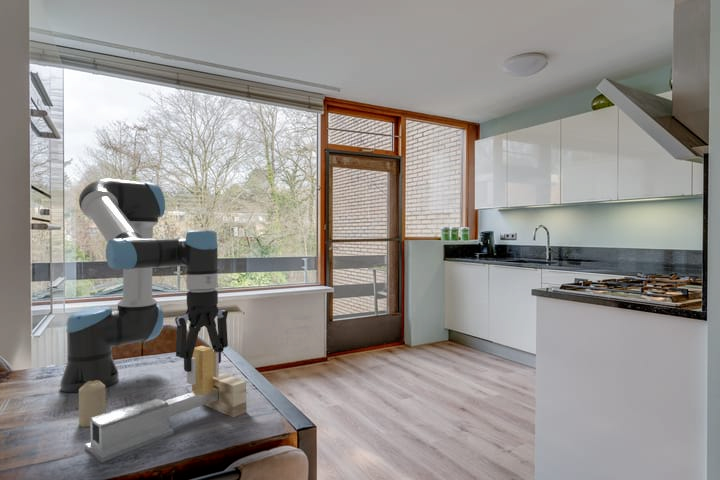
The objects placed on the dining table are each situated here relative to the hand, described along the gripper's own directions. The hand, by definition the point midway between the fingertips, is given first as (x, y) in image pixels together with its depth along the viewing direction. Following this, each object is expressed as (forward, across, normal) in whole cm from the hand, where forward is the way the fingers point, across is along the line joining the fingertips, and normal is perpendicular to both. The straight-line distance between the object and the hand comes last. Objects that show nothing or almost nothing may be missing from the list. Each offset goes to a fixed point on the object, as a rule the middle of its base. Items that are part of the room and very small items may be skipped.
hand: (203, 379), depth 105 cm
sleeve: (+9, -18, 0) cm, 20 cm away
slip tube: (+6, -5, 0) cm, 8 cm away
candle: (+9, -19, +18) cm, 28 cm away
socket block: (+9, +5, 0) cm, 10 cm away
